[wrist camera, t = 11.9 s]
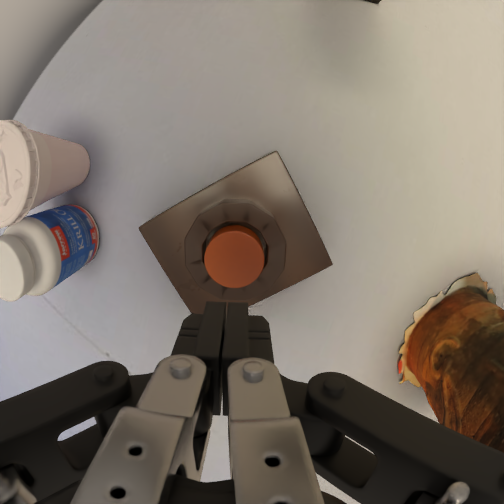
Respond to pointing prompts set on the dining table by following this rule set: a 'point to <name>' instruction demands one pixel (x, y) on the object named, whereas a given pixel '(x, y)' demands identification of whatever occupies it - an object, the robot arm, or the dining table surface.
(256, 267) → the button
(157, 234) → the button block
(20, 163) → the smoothie
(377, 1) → the switch bracket
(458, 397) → the vessel
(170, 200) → the dining table surface
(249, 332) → the robot arm
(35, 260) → the pill bottle
